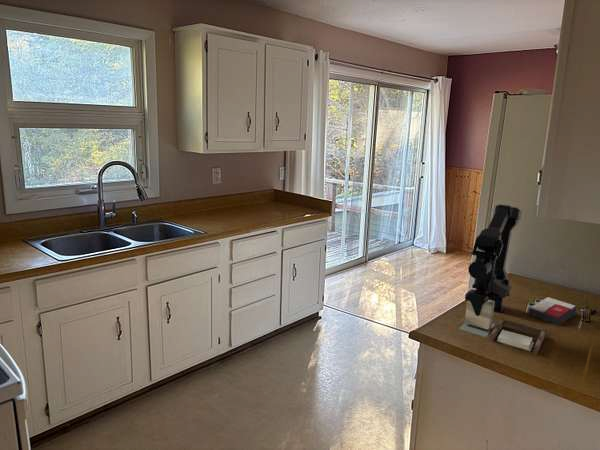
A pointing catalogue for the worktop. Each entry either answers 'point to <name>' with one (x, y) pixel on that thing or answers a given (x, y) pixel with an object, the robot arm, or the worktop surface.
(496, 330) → the rack
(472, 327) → the mat
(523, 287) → the worktop surface
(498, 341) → the offcut lower
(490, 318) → the cream rectangular block
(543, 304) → the red white carton
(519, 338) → the offcut upper
